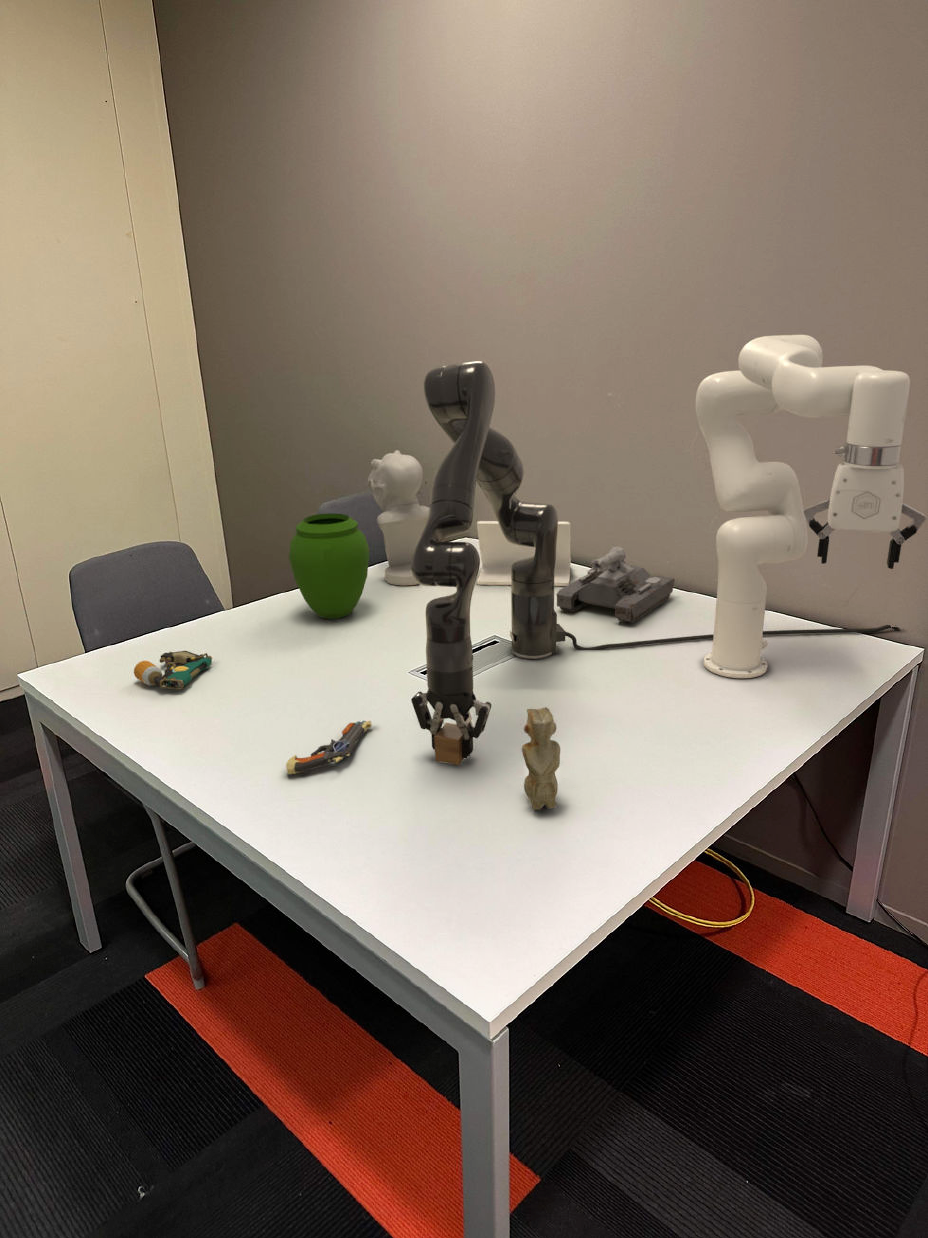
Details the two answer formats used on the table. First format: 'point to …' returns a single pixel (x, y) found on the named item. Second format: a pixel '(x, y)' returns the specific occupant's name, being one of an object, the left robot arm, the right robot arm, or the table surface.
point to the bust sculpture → (399, 512)
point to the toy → (616, 588)
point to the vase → (329, 563)
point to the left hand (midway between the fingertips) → (452, 753)
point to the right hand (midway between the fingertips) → (856, 563)
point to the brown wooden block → (449, 744)
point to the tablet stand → (517, 554)
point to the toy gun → (330, 749)
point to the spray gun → (172, 669)
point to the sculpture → (541, 759)
